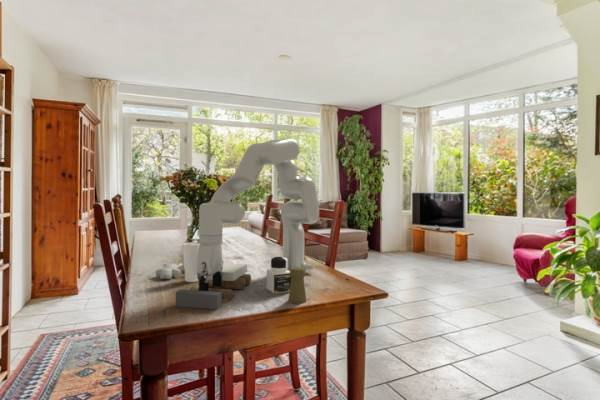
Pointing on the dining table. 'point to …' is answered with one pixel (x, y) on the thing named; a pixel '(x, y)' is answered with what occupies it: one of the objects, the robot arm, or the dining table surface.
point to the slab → (231, 271)
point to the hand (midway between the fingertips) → (210, 290)
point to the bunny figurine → (169, 271)
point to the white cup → (190, 261)
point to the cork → (297, 286)
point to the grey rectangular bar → (199, 299)
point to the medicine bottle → (278, 276)
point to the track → (234, 284)
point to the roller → (225, 292)
